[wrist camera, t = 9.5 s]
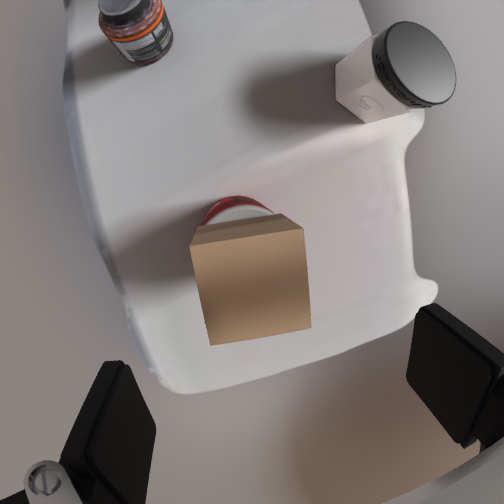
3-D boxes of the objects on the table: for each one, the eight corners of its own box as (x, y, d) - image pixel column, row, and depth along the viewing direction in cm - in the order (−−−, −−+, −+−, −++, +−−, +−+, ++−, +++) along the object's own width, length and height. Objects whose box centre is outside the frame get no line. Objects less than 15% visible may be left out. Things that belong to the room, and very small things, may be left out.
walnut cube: (197, 226, 21) (189, 246, 16) (281, 213, 22) (303, 228, 16) (212, 304, 23) (210, 345, 17) (289, 291, 23) (311, 327, 18)
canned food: (204, 269, 34) (198, 313, 23) (198, 196, 31) (188, 209, 21) (272, 265, 34) (296, 305, 24) (271, 193, 32) (296, 203, 22)
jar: (317, 90, 30) (364, 55, 18) (349, 44, 28) (399, 2, 17) (378, 137, 32) (443, 127, 20) (405, 89, 30) (468, 69, 19)
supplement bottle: (127, 25, 25) (95, -23, 14) (176, 20, 26) (162, -34, 15) (120, 69, 27) (80, 30, 16) (171, 64, 27) (151, 18, 16)
